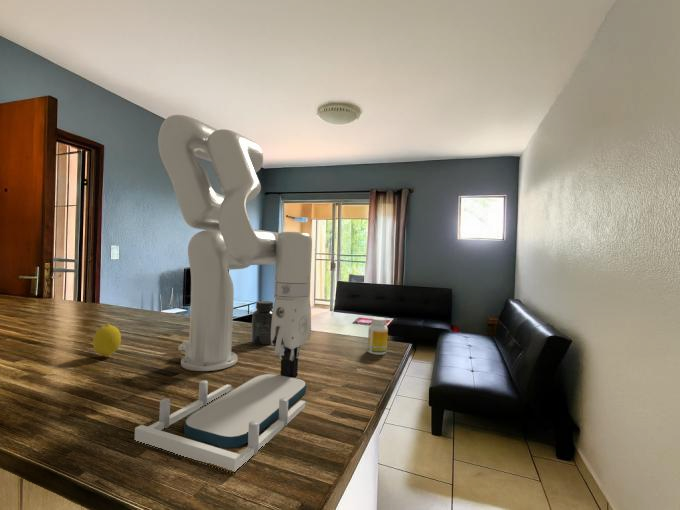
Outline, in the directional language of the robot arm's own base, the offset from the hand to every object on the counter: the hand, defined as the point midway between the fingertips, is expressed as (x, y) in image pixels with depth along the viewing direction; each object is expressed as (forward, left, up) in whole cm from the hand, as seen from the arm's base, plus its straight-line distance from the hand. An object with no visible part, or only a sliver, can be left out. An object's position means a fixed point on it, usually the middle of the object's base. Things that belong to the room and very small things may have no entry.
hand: (288, 376), depth 70 cm
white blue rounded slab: (0, -13, -2) cm, 13 cm away
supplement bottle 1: (-21, +23, -1) cm, 31 cm away
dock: (0, -19, -1) cm, 19 cm away
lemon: (-46, -6, -1) cm, 47 cm away
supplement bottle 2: (+12, +30, -1) cm, 32 cm away
